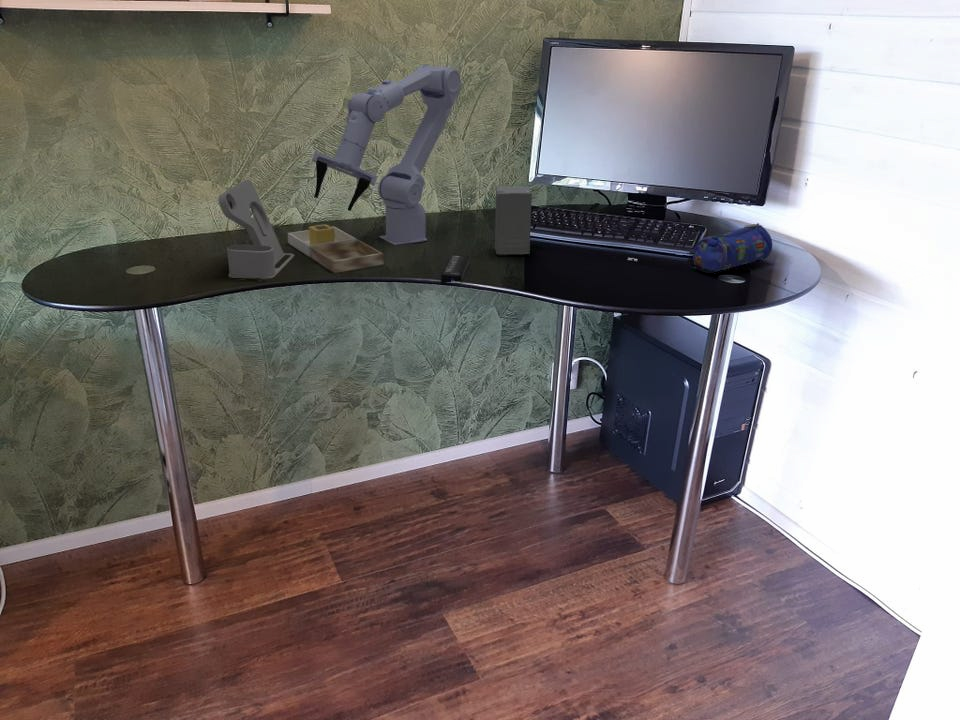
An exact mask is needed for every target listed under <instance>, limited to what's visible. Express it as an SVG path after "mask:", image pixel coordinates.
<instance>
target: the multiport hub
mask: <svg viewBox="0 0 960 720" xmlns="http://www.w3.org/2000/svg"><path fill="white" fill-rule="evenodd" d="M470 258H471V257H470V255H466V254H465V255H464V254H450V255H449V258H448V259H447V261H446V264H445V265H444V267H443V269H442V271H441V274H440V282H441V283H442V284H447V283H446V282H451V280H455V281H462V278H463V276H464V274H465V275H466V273H467V271H468V268H469V266H470ZM468 265H469V266H468ZM467 267H468V268H467ZM466 270H467V271H466ZM465 272H466V273H465ZM464 277H465V276H464ZM463 279H464V278H463ZM462 282H463V281H462Z"/></svg>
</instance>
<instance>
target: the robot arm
mask: <svg viewBox="0 0 960 720" xmlns="http://www.w3.org/2000/svg"><path fill="white" fill-rule="evenodd" d="M381 82H382V84H380V85H378V86H376V87H370V88H368V89H367V92H365V93H364V92H363V93H362V92H358V93H355V94H353V96H352V97H351V98H350V99H348V101H347V111H348V113H347V116H346V125H345V128H344V130H343V134H342V137H341V140H340V143H339V145H338V148H337V151H336V154H335V156H334V157H333V156H330V155H327V154H323V153H321V152H317V151H314V152H313V156H312V159H311V162H313V163H315V170H316V186H315V192H314V197H313V198H315V199H318V198H319V195H320V192H321V189H322V185H323V182H324V179H325V176H326V173H327V171H328V168H330V169H332V170H334V171H335V170H336V171H338V172H340V173H341V174H342V173H343V174H345V175H348V176H349V177H353V178H355V179H358V182H357V184H356V187H355V191H354V194H353V196H352V198H351V200H350V202H349V205H348V208H347V211H348V212H351V211H352V208H353V207H354V205H355V203H356V202H357V201H358V199H359V198H360V197H361V196H362V195H363V193H365V191H366V190H367V189H368V188H369V187H370V185H372V186H375V184H376V182H377V179H378V175H375V174H373V173H371V172H368V171H366V170H364V169H362V168H360V166H361V164H362V161H363V159H364V155H365V153H366V150H367V147H368V145H369V141H370V139H371V136H372V133H373V130H374V128H375V125H376V123H378V122H382V120H383V119H384V118H385V115H386V114H387V113H388V112H389V111H391V110H394V109H395V108H397V107H399V106H400V105H402V104H403V102H404V99H405V97H407V96H409V95H411V94H414V93H416V92H418V91H419V93H420V95H421V98H422V102H423V103H424V105H426V107H427V110H426V112H425V114H424V115H423V118H422V119H421V122H420V123H419V125H418V128H417V129H416V131H415V133H414V135H413V137H412V139H411V141H410V143H409V145H408V147H407V149H406V151H405V152H404V153H405V154H404V155H403V157H402V158H401V160H400V162H399V163H398V164H395V165H393V166H392V167H390V168H389V169H388V171H387V173H386V174H385V175H383V176H382V177H381V178H380V180H379V182H378V186H377V187H378V188H377V191H378V196H379V197H380V199H382V202H383V203H382V204H383V205H385V235H379V238H381V239H382V240H384V241H386V242H388V243H389V244H392V245H393V246H397V245H402V244H408V243H411V244H414V243H415V244H416V243H421V242H427V241H428V239H427V237H426V230H427V229H426V225H427V224H426V223H427V222H426V211H425V208H424V206H423V205H422V204H421V203H420V201H421V199H422V195H423V190H424V187H425V185H426V182H425V178H424V177H423V175H422V171H423V170H424V167H425V165H426V163H427V161H428V159H429V157H430V155H431V154H432V151H433V149H434V147H435V145H436V143H437V141H438V139H439V137H440V136H441V133H442V131H443V129H444V127H445V125H446V123H447V121H448V119H449V118H450V115H451V112H452V109H453V105H454V104H455V102H456V100H457V98H458V96H459V94H460V92H461V91H462V88H463V86H462V78H461V73H460V71H459V70H458V69H457V68H456V67H454V66H450V67H449V66H448V67H446V66H438V65H429V64H423V65H421V66H417V67H416V68H415V71H413V72H411V73H410V74H408V75H406V76H405V77H403V78H401V80H399V81H397V82H396V81H394V80H390V79H384V80H383V81H382V80H381Z"/></svg>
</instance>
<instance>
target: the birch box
mask: <svg viewBox="0 0 960 720" xmlns="http://www.w3.org/2000/svg"><path fill="white" fill-rule="evenodd" d="M310 253H311V257H310V258H311V259H312V261H315V262H316V263H318V264H320V265H321V266H322V267H324V268H325V269H327V270H329V271H330V272H332V273H333V274H334V276H336V275H337V276H338V275H339V273H340V274H341V275H342V274H344V272H345V274H346V273H347V274H348V273H350V271H351V273H353V272H355V271H356V272H358V271H361V269H362V271H365V270H367V268H368V270H370V269H372V268H373V269H376V268H378V266H379V268H381V267H383V266H384V261H385V260H384V259H385V258H384V253H383V252H382V251H380V250H378V249H376V248H374V247H372V246H371V245H369V244H367V243H365V242H363V241H361V240H360V239H357V240H353V241H347V242H340V243H334V244H327V245H321V246H315V247H310ZM341 272H342V273H341Z"/></svg>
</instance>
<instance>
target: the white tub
mask: <svg viewBox="0 0 960 720" xmlns="http://www.w3.org/2000/svg"><path fill="white" fill-rule="evenodd" d="M331 227H332V228H334V232H335V241H334V242H328V243H321V244H315V245H310V239H309V229H306V230H300V231H293V232H287V244H288V245H290V246H291V247H293V248H295V249H297V250H298V251H299V252H301V253H303V254H304V255H305V256H308V258H311V253H310V247H315V246H321V245H327V244H334V243H340V242H347V241H353V240H358V239H357V238H356V237H354V236H352V235H350V234H349V233H347V232H345V231H343V230H341V229H339V228H338V227H336V226H335V225H334V226H331Z"/></svg>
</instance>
